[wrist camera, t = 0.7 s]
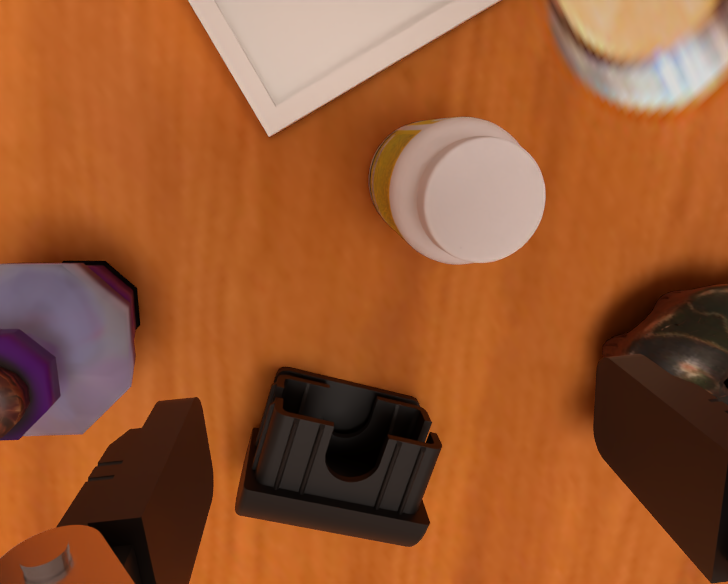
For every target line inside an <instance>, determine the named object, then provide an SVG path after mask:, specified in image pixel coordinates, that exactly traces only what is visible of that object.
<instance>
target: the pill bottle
mask: <svg viewBox="0 0 728 584" xmlns="http://www.w3.org/2000/svg"><path fill="white" fill-rule="evenodd" d="M369 191H370V195H371V198H372V201H373V204H374V206H375V208H376V210H377V212H378V213H379V214H380V216H381V217H382V218H383V220H384V221H385V222H386V223H387V224H388V225H389V226H390V227H391V228H392V229H394V230H395V231H396V232H397V233H398V234H399V235H400V236H401V237H402V238H403V239H404V240H405V241H406V242H407V243H408V244H409V245H410V246H411V247H413V248H414V249H415V250H416V251H418V252H419V253H421V254H422V255H424V256H426V257H428V258H430V259H433V260H435V261H438V262H442V263H446V264H469V263H487V262H493V261H497V260H500V259H503V258H505V257H507V256H509V255H511V254H512V253H514V252H516V251H517V250H518V249H520V248H521V247H522V246H523V245H524V244H525V243H526V242H527V241H528V240H529V239H530V238H531V236H532V235H533V234H534V232H535V231H536V229H537V227H538V225H539V223H540V221H541V218H542V215H543V211H544V207H545V198H546V195H545V184H544V180H543V176H542V173H541V171H540V169H539V167H538V165H537V163H536V161H535V160H534V159H533V157H532V156H531V155H530V154H529V153H528V152H527V151H526V150H525V149H523V148H522V147H521V146H520V145H519V143H518V142H517V141H516V140H515V139H514V138H513V137H512V136H511V135H510V134H509V133H508V132H507V131H505V130H504V129H502V128H501V127H499V126H498V125H496V124H494V123H491V122H489V121H486V120H483V119H478V118H473V117H452V118H442V119H433V120H424V121H418V122H413V123H410V124H407V125H405V126H403V127H400V128H398V129H397V130H395V131H394V132H392V133H391V134H390V135H389V136H388V137H387V138H386V139H385V140H384V141H383V142H382V143H381V144H380V146H379V147H378V149H377V150H376V152H375V154H374V157H373V159H372V162H371V165H370V170H369Z"/></svg>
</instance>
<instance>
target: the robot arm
mask: <svg viewBox="0 0 728 584" xmlns="http://www.w3.org/2000/svg"><path fill="white" fill-rule="evenodd" d="M593 430H594V438H595V442H596V445H597V448H598V451H599V453H600V455H601V456H602V458H603V459H604V460H605V461H606V463H607V464H608V465H609V466H610V467H611V468H612V469H613V471H614V472H615V473H616V474H617V475H618V476H619V478H620V479H621V480H622V481H623V482H624V483H625V484H626V486H627V487H628V488H629V489H630V490H631V491H632V493H633V494H634V495H635V496H636V497H637V498H638V499H639V501H640V502H641V503H642V504H643V505H644V506H645V508H646V509H647V510H648V511H649V512H650V513H651V514H652V516H653V517H654V518H655V519H656V520H657V521H658V523H659V524H660V525H661V526H662V527H663V528H664V529H665V531H666V532H667V533H668V534H669V535H670V536H671V538H672V539H673V540H674V541H675V542H676V543H677V544H678V546H679V547H680V548H681V549H682V550H683V551H684V553H685V554H686V555H687V556H688V557H689V558H690V559H691V561H692V562H693V563H694V564H695V565H696V566H697V568H698V569H699V570H700V571H701V572H702V573H703V574H704V576H705V577H706V578H707V579H708V580H709V581H710V583H719V582H726V581H728V405H727V404H725V403H724V402H722V401H720V402H719V401H718V398H717V397H715V396H714V395H712V394H711V393H709V392H708V391H706V390H705V389H703V388H702V387H700V386H699V385H697V384H694V383H691V382H689V381H686V380H684V379H681V378H679V377H676V376H673V375H671V374H670V373H669V372H667V371H666V370H664V369H663V368H661V367H660V366H658V365H657V364H656V363H654V362H653V361H651V360H650V359H648V358H647V357H646V356H644V355H642V354H633V355H623V356H613V357H604V358H602V359H601V360H600V361H599V363H598V365H597V371H596V388H595V406H594V424H593ZM212 497H213V468H212V461H211V456H210V450H209V444H208V438H207V432H206V426H205V420H204V414H203V409H202V405H201V402H200V400H199V398H197V397H195V398H185V399H175V400H165V401H158V402H157V403H156V405H155V406H154V408H153V410H152V411H151V413H150V415H149V417H148V418H147V420H146V422H145V424H144V425H143V427H142V428H138V429H130V430H129V431H127V432H126V433H125V434H123V435H122V436H121V437H119V438H118V439H117V440H116V441H114V442H113V443H112V444H110V445H109V447H108V448H107V450H106V451H105V453H104V454H103V456H102V457H101V459H100V460H99V462H98V466H97V467H95V468H94V470H93V471H92V473H91V474H90V476H89V477H88V482H85V484H84V485H83V487H82V488H81V490H80V491H79V493H78V494H77V496H76V498H75V499H74V501H73V502H72V504H71V505H70V507H69V508H68V510H67V511H66V513H65V515H64V516H63V518H62V519H61V521H60V522H59V524H58V525H57V527H56V528H53V529H50V530H47V531H44V532H42V533H39V534H37V535H34V536H32V537H30V538H28V539H27V540H25V541H23V542H21V543H20V544H18V545H16V546H15V547H14V548H12V549H11V550H10V551H8V552H7V553H6V554H5V555H4V556H3V557H1V558H0V584H189V581H190V578H191V574H192V570H193V567H194V563H195V560H196V556H197V552H198V549H199V545H200V541H201V538H202V534H203V531H204V527H205V523H206V520H207V516H208V513H209V509H210V505H211V502H212Z"/></svg>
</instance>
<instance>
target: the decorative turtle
mask: <svg viewBox="0 0 728 584" xmlns="http://www.w3.org/2000/svg"><path fill="white" fill-rule="evenodd" d="M602 353H603V358H604V357H613V356H623V355H633V354H642V355H644V356H646V357H647V358H648V359H650V360H651V361H653V362H654V363H656V364H657V365H658V366H660V367H661V368H663V369H664V370H666V371H667V372H669V373H670V374H671V375H673V376H676V377H679V378H681V379H684V380H686V381H689V382H691V383H694V384H697V385H699V386H700V387H702V388H703V389H705V390H706V391H708V392H709V393H711V394H712V395H714V396H715V397H717V398H718V401H719V402H720V401H722V402H724V403H725V404H727V405H728V284H718V285H711V286H706V287H702V288H697V289H693V290H679V291H672V292H669V293H666V294H664V295H663V296H662V297H660V298H659V300H658V301H657V303H656V305H655V307H654V309H653V311H652V312H651V313H650V314H649V315H648V316H647V317H646V318H645V319H644V320H643V321H642V322H641V323H640V324H639V325H638V326H637V327H635V328H634V329H633V330H631V331H630V332H629V333H626V334H622V335H618V336H614V337H612V339H610V340H607V341H606V343H605V344H604V345H603V352H602Z"/></svg>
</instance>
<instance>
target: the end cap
mask: <svg viewBox="0 0 728 584" xmlns="http://www.w3.org/2000/svg"><path fill="white" fill-rule="evenodd" d="M431 424H432V422H431V420H430V418H429V415H428V413H427V412H426V410H424V409H423V408H421V407H420V405H419V403H418V401H417V399H416V398H414V397H412V396H408V395H403V394H399V393H395V392H391V391H387V390H382V389H378V388H374V387H370V386H366V385H361V384H357V383H353V382H349V381H345V380H340V379H336V378H332V377H328V376H324V375H320V374H315V373H311V372H307V371H303V370H299V369H294V368H290V367H282V368H281V369H279V370H278V372H277V373H276V377H275V380H274V383H273V384H272V386H271V390H270V393H269V397H268V400H267V404H266V407H265V411H264V414H263V418H262V421H261V424H260V428H253V430H252V434H251V438H250V441H249V445H248V449H247V453H246V457H245V461H244V465H243V469H242V473H241V478H240V482H239V487H238V492H237V497H236V504H235V511H236V513H237V514H238V515H240V516H246V517H251V518H257V519H262V520H267V521H273V522H278V523H283V524H289V525H294V526H299V527H305V528H310V529H315V530H321V531H326V532H332V533H337V534H342V535H348V536H353V537H358V538H364V539H369V540H374V541H380V542H385V543H390V544H396V545H401V546H408V547H411V546H414V545H415V544H417V543H418V542H419V541H420V540H421V539H422V537H423V536H424V534H425V533H426V530H427V528H428V526H429V524H430V521H429V518H428V515H427V512H426V509H425V506H424V503H423V500H422V498H423V495H424V493H425V490H426V487H427V485H428V482H429V479H430V477H431V474H432V472H433V469H434V466H435V464H436V461H437V458H438V456H439V453H440V450H441V448H442V444H441V442H440V440H439V438H438V435H437V434H436V433H432V432H430V433H429V436H428V438H427V441H426V443H425V440H426V437H427V434H428V432H429V429H430V426H431Z"/></svg>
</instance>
